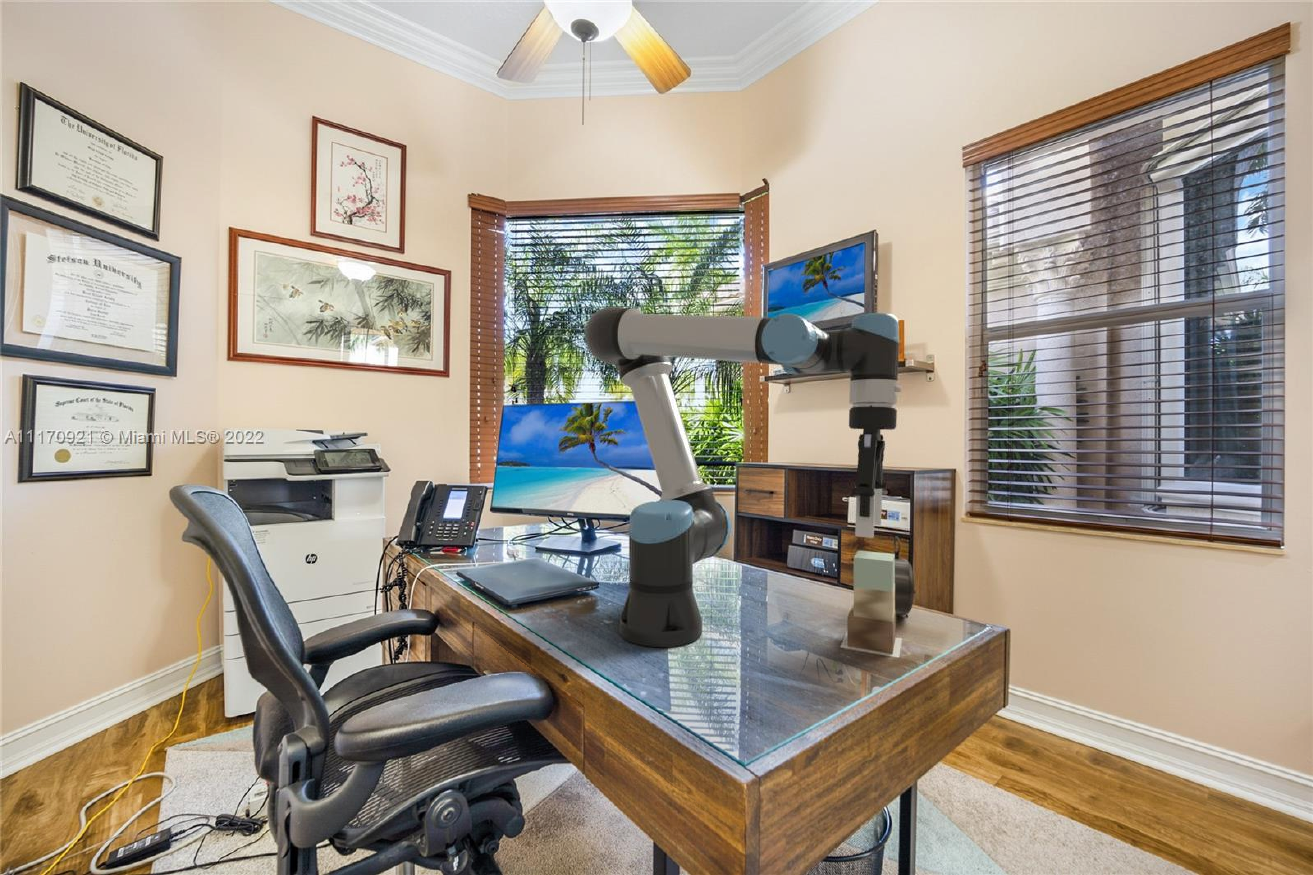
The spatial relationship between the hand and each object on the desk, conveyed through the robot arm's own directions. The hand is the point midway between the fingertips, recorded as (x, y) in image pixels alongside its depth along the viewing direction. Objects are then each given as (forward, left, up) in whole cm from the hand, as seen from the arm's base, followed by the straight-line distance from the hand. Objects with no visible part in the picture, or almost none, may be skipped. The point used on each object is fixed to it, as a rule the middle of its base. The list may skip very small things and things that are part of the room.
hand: (868, 530), depth 91 cm
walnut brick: (+1, 0, -19) cm, 19 cm away
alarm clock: (+4, +17, -20) cm, 26 cm away
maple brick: (+1, 0, -14) cm, 14 cm away
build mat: (+1, 0, -20) cm, 20 cm away
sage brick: (+1, 0, -9) cm, 9 cm away
